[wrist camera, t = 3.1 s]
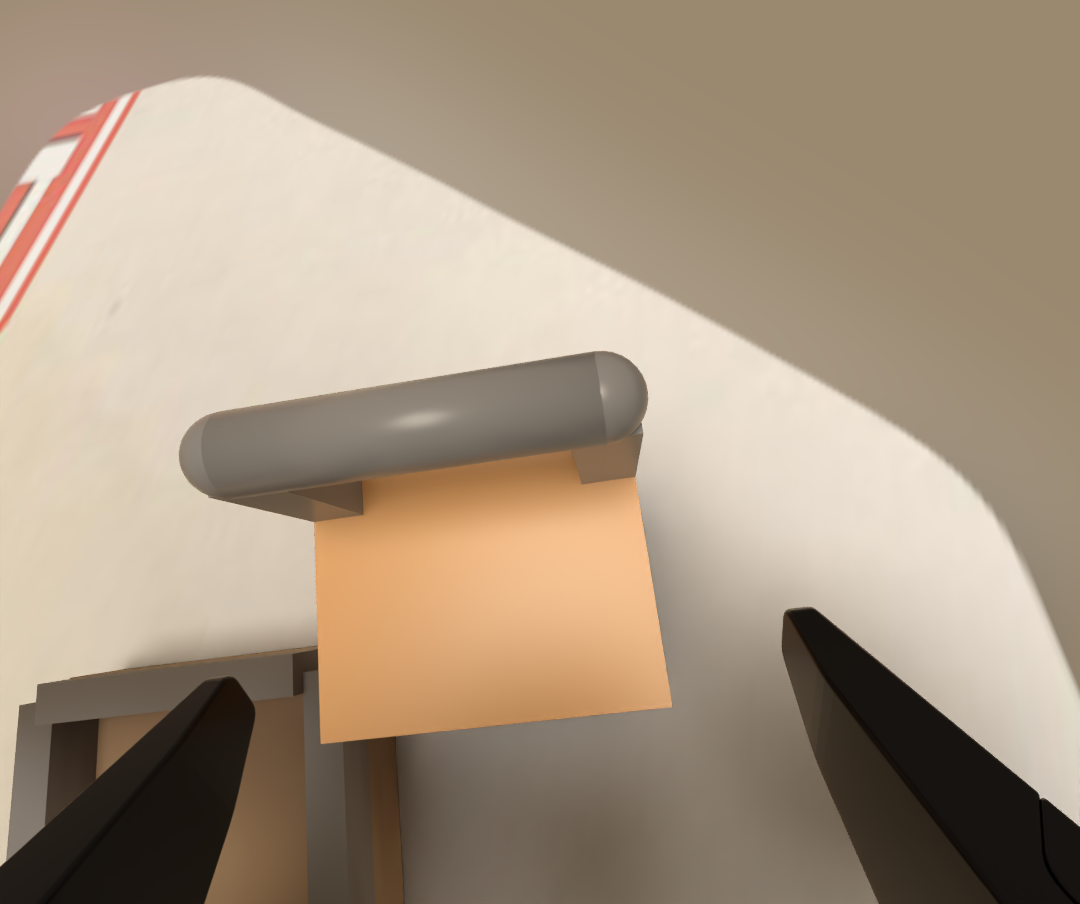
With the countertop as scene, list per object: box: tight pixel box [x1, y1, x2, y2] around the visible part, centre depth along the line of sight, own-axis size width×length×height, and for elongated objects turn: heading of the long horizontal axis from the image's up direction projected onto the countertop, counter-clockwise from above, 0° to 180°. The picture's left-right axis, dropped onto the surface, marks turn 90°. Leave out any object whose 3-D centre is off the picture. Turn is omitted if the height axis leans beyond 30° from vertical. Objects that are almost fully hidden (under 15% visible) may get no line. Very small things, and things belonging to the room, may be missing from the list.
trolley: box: [179, 351, 672, 744], centre depth 12 cm, size 6×5×13 cm
